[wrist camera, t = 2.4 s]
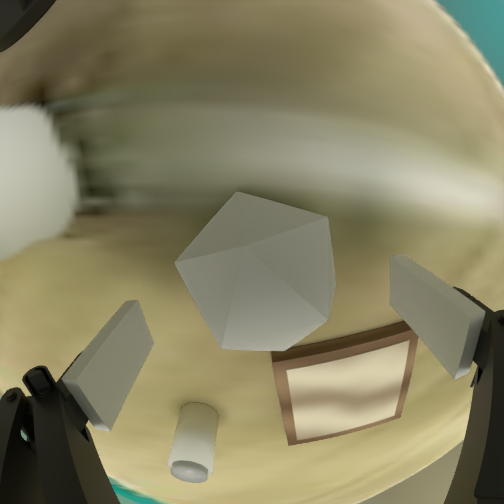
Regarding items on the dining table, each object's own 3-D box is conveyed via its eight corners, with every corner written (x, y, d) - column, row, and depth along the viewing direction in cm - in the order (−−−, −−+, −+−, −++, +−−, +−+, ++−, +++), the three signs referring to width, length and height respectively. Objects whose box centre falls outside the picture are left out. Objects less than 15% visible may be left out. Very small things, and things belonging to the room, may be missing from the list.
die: (216, 172, 19) (117, 274, 13) (348, 166, 15) (293, 313, 8) (250, 262, 24) (189, 362, 18) (356, 273, 20) (317, 402, 13)
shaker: (175, 403, 25) (158, 464, 17) (212, 401, 24) (203, 466, 17) (187, 425, 26) (176, 483, 18) (222, 424, 26) (217, 484, 18)
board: (271, 351, 22) (272, 363, 21) (412, 318, 22) (420, 327, 20) (287, 435, 26) (288, 446, 25) (395, 408, 26) (400, 417, 24)
